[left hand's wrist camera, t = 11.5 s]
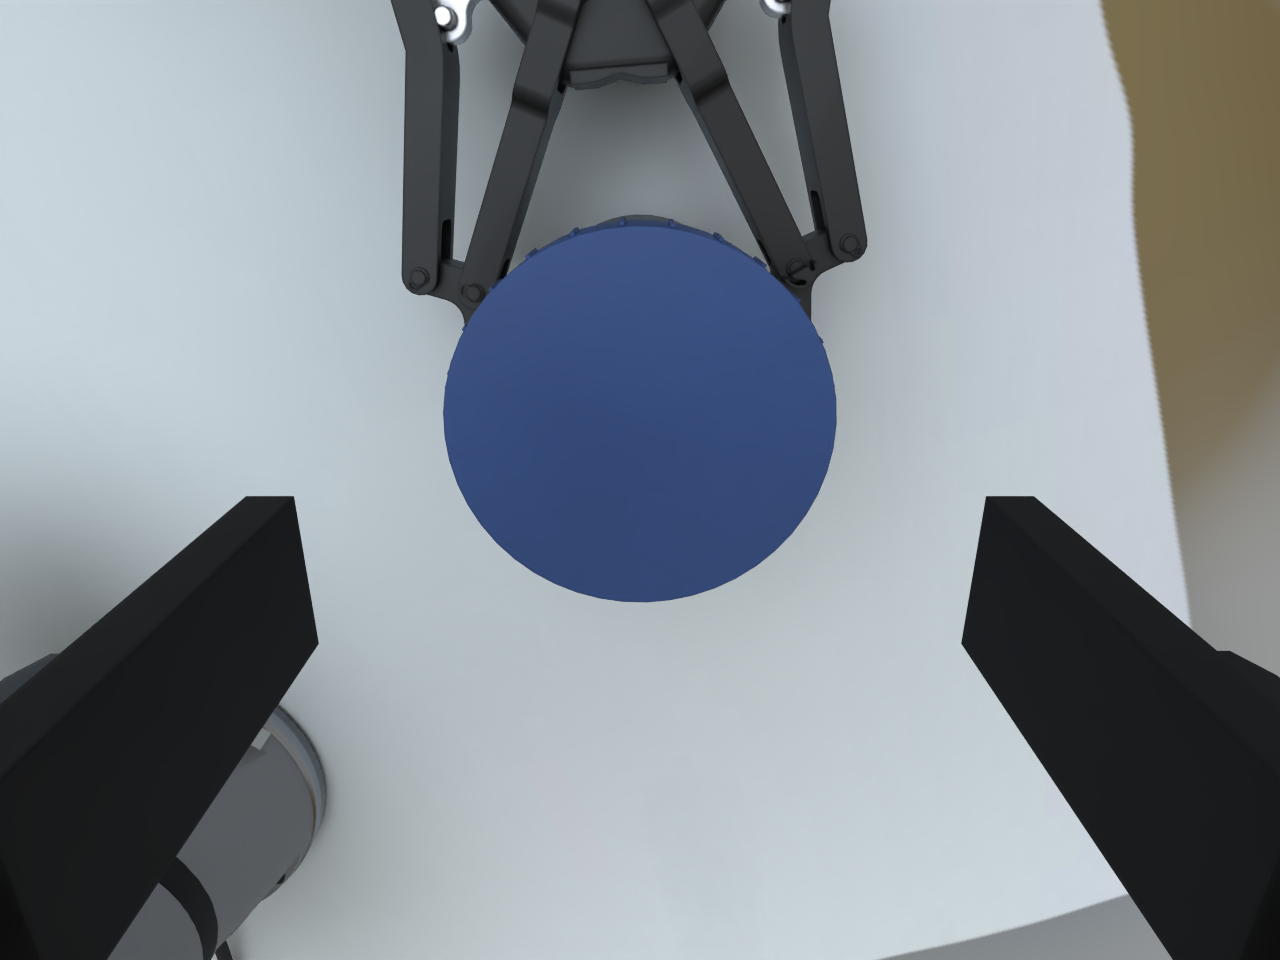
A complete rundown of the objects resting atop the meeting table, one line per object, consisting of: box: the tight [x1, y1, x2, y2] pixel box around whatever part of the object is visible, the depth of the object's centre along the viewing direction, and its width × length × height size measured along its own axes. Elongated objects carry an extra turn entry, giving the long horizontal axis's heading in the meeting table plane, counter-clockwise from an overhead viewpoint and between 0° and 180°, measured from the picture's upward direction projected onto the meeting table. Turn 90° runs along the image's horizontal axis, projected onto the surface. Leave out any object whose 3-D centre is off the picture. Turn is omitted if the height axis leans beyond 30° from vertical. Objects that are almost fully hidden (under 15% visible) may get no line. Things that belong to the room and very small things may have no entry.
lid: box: [443, 217, 836, 602], centre depth 21 cm, size 10×10×2 cm
